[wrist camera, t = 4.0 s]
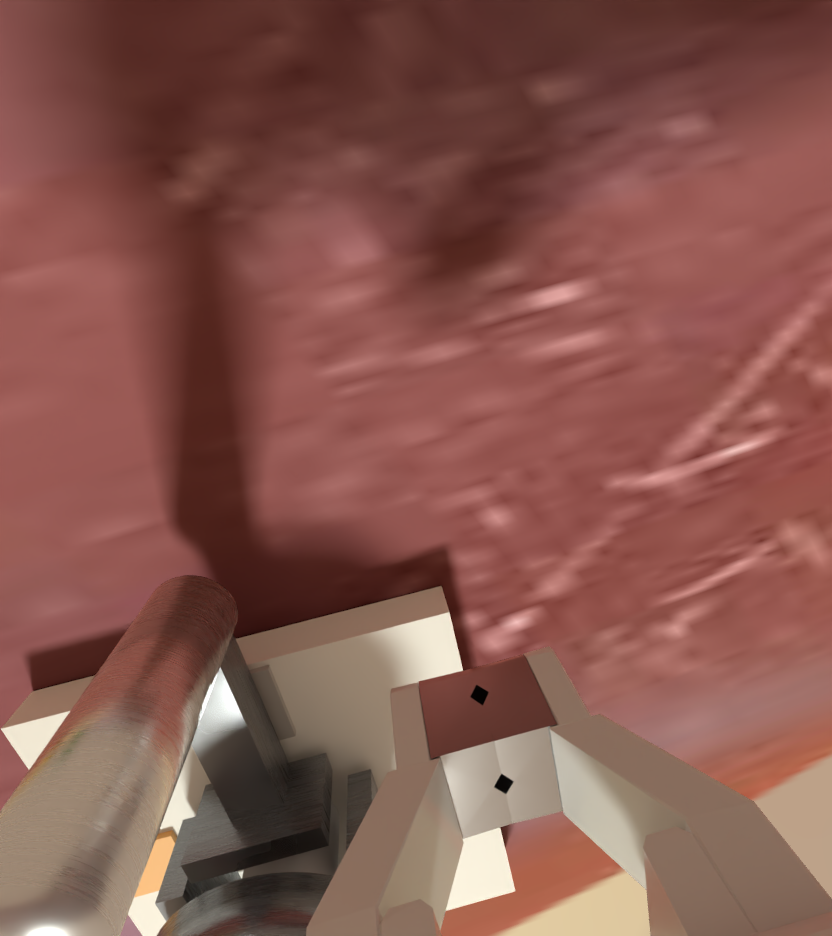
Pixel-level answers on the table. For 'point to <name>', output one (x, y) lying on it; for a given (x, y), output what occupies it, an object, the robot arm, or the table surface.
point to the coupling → (169, 791)
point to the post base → (311, 728)
